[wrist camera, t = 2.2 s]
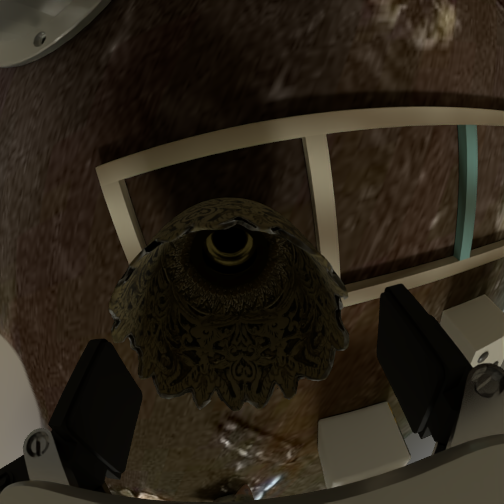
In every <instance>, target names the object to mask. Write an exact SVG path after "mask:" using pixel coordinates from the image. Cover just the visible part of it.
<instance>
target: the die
mask: <svg viewBox="0 0 504 504" xmlns="http://www.w3.org/2000/svg"><path fill="white" fill-rule="evenodd" d="M440 325H441V327H442V328H443V329H444V330H445V332H446V333H447V334H448V335H449V337H450V338H451V339H452V340H453V342H454V343H455V344H456V345H457V347H458V348H459V349H460V351H461V352H462V353H463V355H464V356H465V357H466V359H467V360H468V361H469V363H470V364H471V365H472V367H475V366H477V365H478V364H482V363H492V364H495V365H498V366H499V367H500V365H501V364H502V362H503V359H504V313H503V312H502V311H501V310H500V309H499V308H498V307H497V306H496V305H495V304H494V303H493V302H492V301H491V300H490V299H489V298H488V297H487V296H486V295H485V294H484V295H482V296H479V297H477V298H475V299H472V300H470V301H467V302H465V303H462V304H460V305H457V306H455V307H452V308H450V309H447V310H444V311H443V313H442V317H441V322H440Z"/></svg>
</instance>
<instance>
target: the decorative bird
mask: <svg viewBox="0 0 504 504" xmlns="http://www.w3.org/2000/svg"><path fill="white" fill-rule="evenodd" d="M250 500H254V498H253V495H252V492H251V490H250V488H249V487H248V485H247V484H244V485H243V486H242V487H241V488H240V489H239V490H238V492H237V493H236V495H233V494H232V495H227V496H224V497H220V498H217V499H216V500H214V501H213V502H235V501H250Z"/></svg>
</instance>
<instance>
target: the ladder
mask: <svg viewBox="0 0 504 504" xmlns="http://www.w3.org/2000/svg"><path fill="white" fill-rule="evenodd" d="M419 125H458V139H459V199H458V215H457V228H456V238H455V246H454V254H453V256H450V257H447V258H444V259H440V260H437V261H433V262H430V263H426V264H423V265H419V266H416V267H412V268H408V269H405V270H401V271H397V272H394V273H390V274H386V275H382V276H378V277H375V278H371V279H367V280H363V281H359V282H355V283H351V284H346V285H345V287H346V289H347V292H348V298H347V299H345V300H344V298H341V300H342V304H343V307H345V306H349V305H353V304H357V303H361V302H365V301H368V300H372V299H376V298H379V297H380V295H381V293H383V292H384V290H385V288H386V287H389V286H393V285H396V284H400V283H401V284H403V285H404V286H405V287H406V288H407V289H411V288H414V287H417V286H420V285H424V284H427V283H430V282H433V281H436V280H439V279H443V278H446V277H449V276H452V275H455V274H458V273H460V272H463V271H466V270H469V269H472V268H475V267H478V266H480V265H483V264H486V263H489V262H491V261H494V260H497V259H499V258H502V257H504V240H501V241H498V242H495V243H492V244H489V245H486V246H483V247H480V248H476V249H473V250H471V245H472V237H473V229H474V220H475V209H476V195H477V163H478V158H477V127H476V125H496V126H504V111H502V110H492V109H480V108H465V107H439V106H408V107H380V108H364V109H351V110H340V111H330V112H322V113H313V114H306V115H298V116H292V117H285V118H279V119H273V120H267V121H261V122H256V123H251V124H246V125H241V126H236V127H231V128H227V129H222V130H218V131H213V132H209V133H205V134H201V135H197V136H193V137H189V138H185V139H181V140H178V141H174V142H171V143H167V144H164V145H160V146H157V147H153V148H150V149H147V150H144V151H140V152H137V153H134V154H131V155H128V156H125V157H122V158H119V159H116V160H113V161H111V162H108V163H105V164H102V165H100V166H98V167H96V171H97V175H98V178H99V181H100V185H101V188H102V191H103V194H104V197H105V200H106V203H107V206H108V209H109V212H110V215H111V217H112V220H113V223H114V226H115V229H116V231H117V234H118V237H119V239H120V242H121V245H122V247H123V250H124V252H125V255H126V257H127V260H128V262H129V264H130V263H131V262H132V260H133V259H134V258H135V257H136V256H137V255H138V254H139V253H140V252H141V251H142V250H143V249H144V248H145V247H146V243H145V241H144V238H143V235H142V232H141V229H140V226H139V224H138V221H137V218H136V215H135V212H134V209H133V206H132V203H131V199H130V196H129V193H128V190H127V187H126V183H125V180H124V179H126V178H129V177H132V176H135V175H138V174H142V173H145V172H148V171H152V170H155V169H159V168H162V167H166V166H170V165H173V164H177V163H181V162H185V161H188V160H192V159H196V158H200V157H205V156H209V155H213V154H217V153H222V152H226V151H231V150H235V149H240V148H245V147H250V146H255V145H260V144H265V143H271V142H276V141H282V140H288V139H294V138H300V137H302V142H303V148H304V154H305V161H306V167H307V174H308V180H309V187H310V195H311V202H312V210H313V217H314V225H315V234H316V243H317V251H318V252H319V253H320V254H322V255H323V256H324V257H325V258H326V259H327V260H328V261H329V263H330V264H331V265H332V268H333V270H334V271H335V272H336V274H337V275H338V276H339V278H340V262H339V247H338V234H337V222H336V211H335V201H334V192H333V183H332V175H331V167H330V159H329V152H328V145H327V138H326V134H328V133H336V132H344V131H353V130H363V129H374V128H386V127H400V126H419Z"/></svg>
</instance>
